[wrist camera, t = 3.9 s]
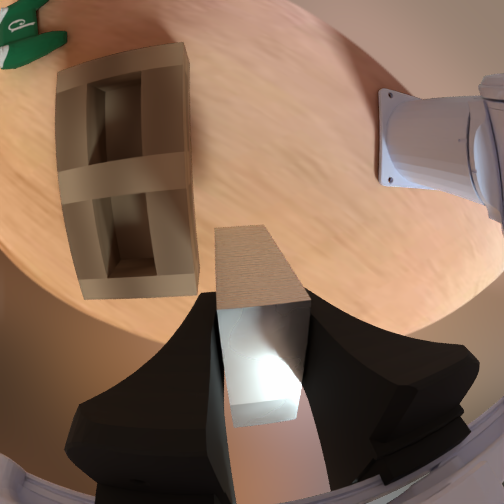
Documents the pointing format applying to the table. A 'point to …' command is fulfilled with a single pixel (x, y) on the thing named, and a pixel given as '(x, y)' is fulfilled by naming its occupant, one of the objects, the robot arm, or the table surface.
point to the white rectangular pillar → (260, 325)
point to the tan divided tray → (128, 173)
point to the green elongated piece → (25, 35)
